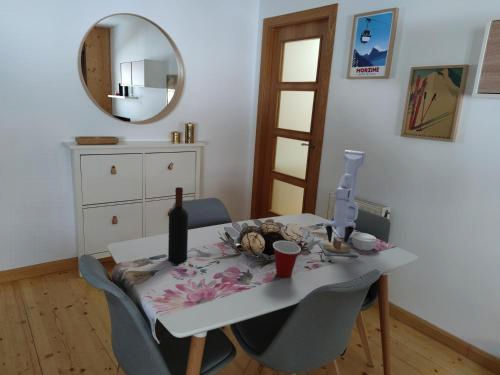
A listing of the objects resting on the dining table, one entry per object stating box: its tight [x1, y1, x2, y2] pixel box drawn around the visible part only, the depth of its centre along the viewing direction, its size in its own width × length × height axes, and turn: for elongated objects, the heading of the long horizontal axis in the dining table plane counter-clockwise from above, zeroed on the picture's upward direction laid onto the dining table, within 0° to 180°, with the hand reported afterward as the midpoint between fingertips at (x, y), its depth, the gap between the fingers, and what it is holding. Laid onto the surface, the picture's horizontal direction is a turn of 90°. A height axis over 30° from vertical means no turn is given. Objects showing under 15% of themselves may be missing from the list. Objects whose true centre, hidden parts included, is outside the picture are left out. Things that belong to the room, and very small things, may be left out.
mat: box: [317, 242, 357, 257], centre depth 175 cm, size 14×14×1 cm
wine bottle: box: [167, 186, 189, 264], centre depth 150 cm, size 8×8×30 cm
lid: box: [323, 236, 351, 254], centre depth 175 cm, size 12×12×5 cm
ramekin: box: [351, 232, 377, 252], centre depth 180 cm, size 11×11×5 cm
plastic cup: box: [272, 240, 302, 279], centre depth 145 cm, size 11×11×12 cm
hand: (337, 241), depth 174 cm, fingers open, 7 cm apart
